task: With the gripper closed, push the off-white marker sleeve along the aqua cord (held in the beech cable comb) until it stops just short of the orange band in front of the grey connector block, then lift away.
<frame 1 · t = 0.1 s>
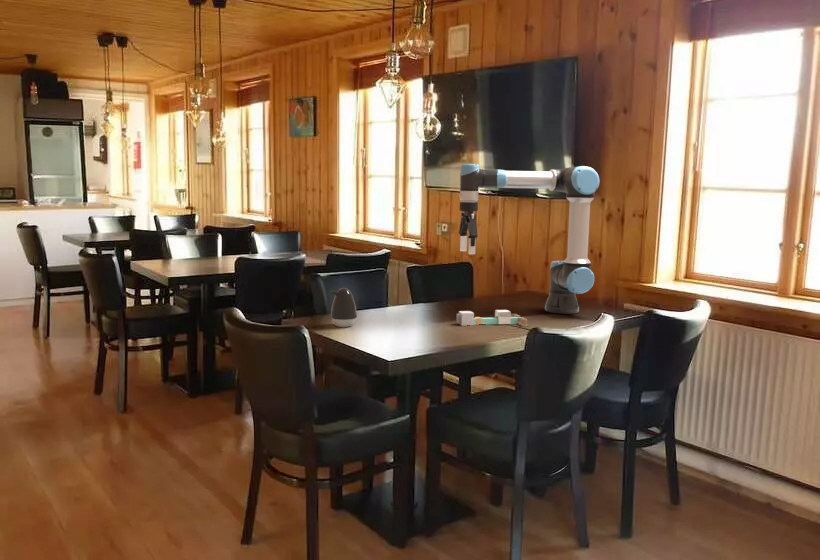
hand: (467, 252, 297), 28 cm above the table, fingers open, 13 cm apart
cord: (493, 323, 290), on the table
comb: (518, 323, 292), on the table
pump dispenser: (343, 326, 280), on the table
sleeve: (502, 316, 290), point 3 cm above the table, slide at 0.0 cm
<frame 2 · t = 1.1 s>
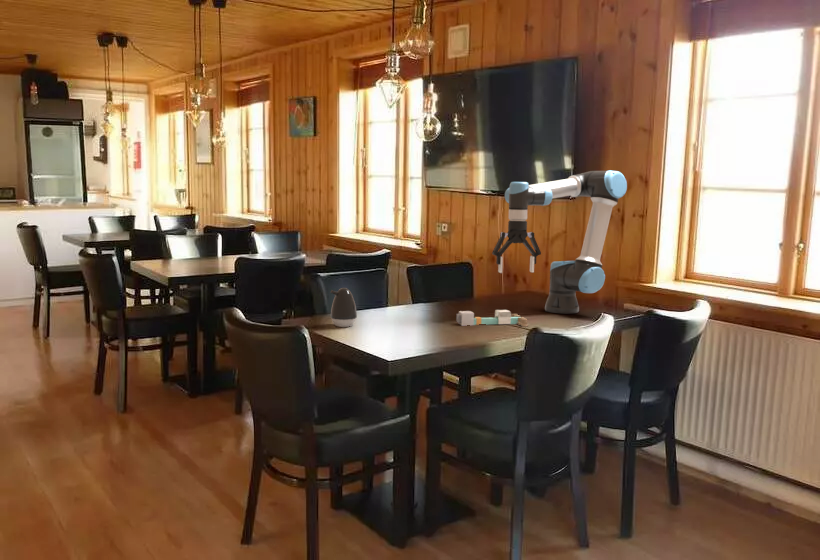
hand: (516, 272, 290), 21 cm above the table, fingers open, 13 cm apart
nothing on the table moved.
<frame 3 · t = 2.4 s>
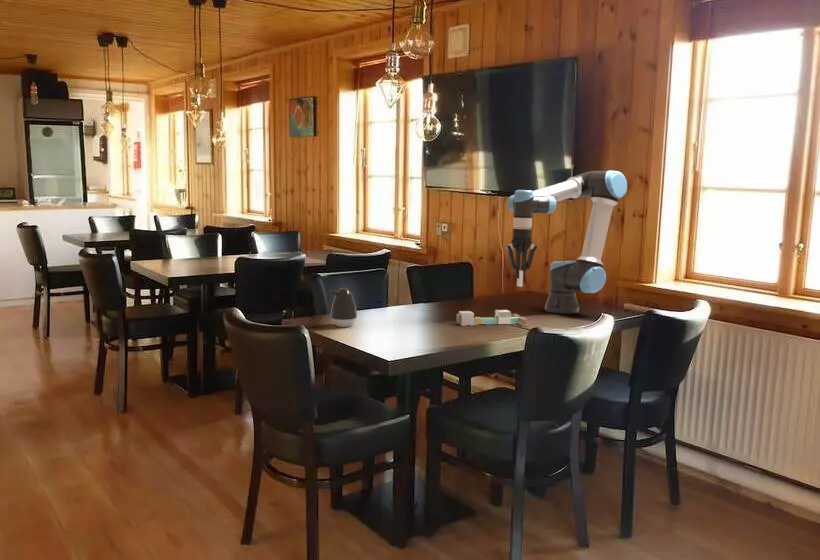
hand: (519, 286, 290), 15 cm above the table, fingers closed
nothing on the table moved.
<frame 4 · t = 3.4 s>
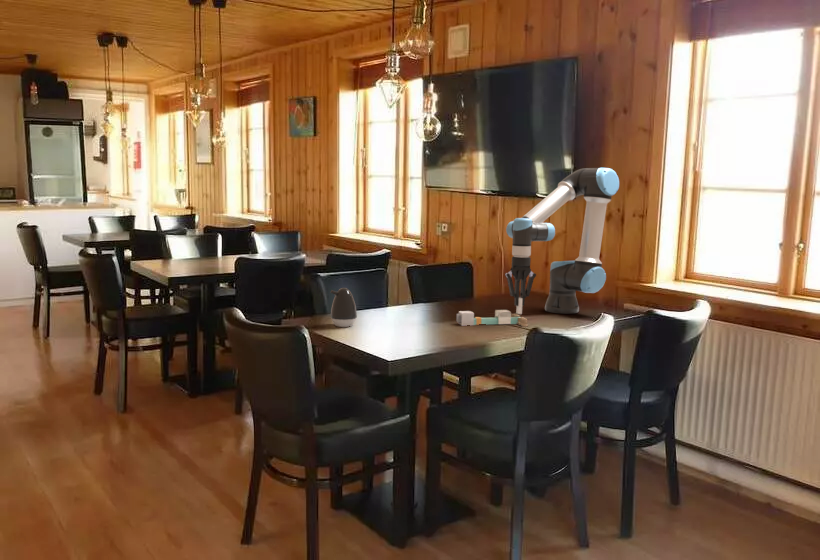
hand: (519, 313, 292), 4 cm above the table, fingers closed
nothing on the table moved.
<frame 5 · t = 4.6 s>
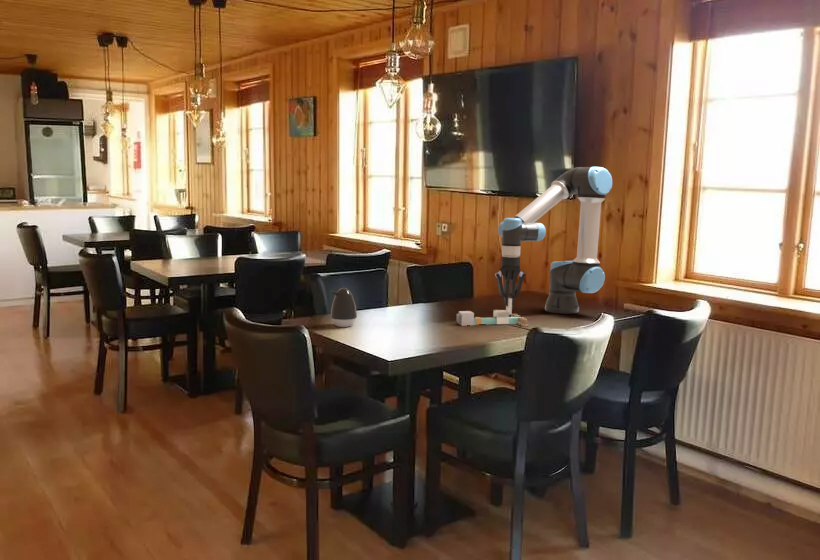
hand: (508, 313, 291), 4 cm above the table, fingers closed
sleeve: (501, 316, 290), point 3 cm above the table, slide at 0.8 cm, touching gripper
everything else where it was.
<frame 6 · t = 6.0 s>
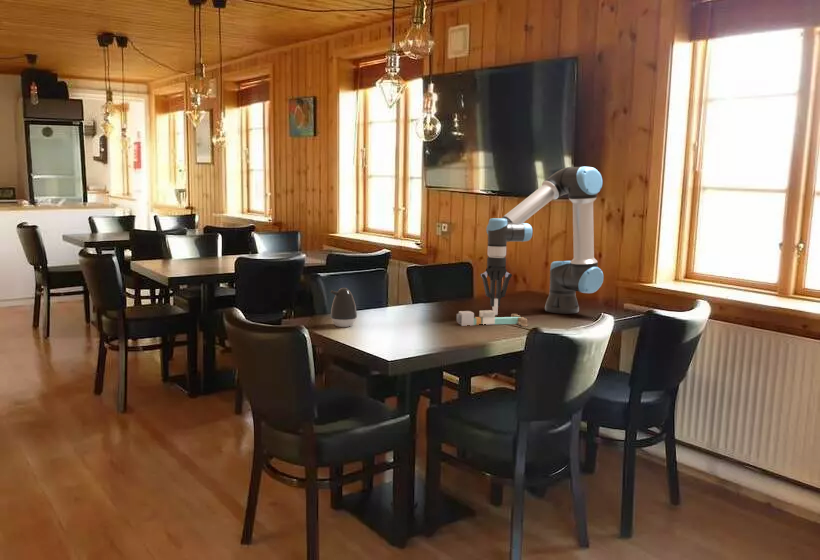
hand: (494, 314, 290), 4 cm above the table, fingers closed
sleeve: (487, 317, 289), point 3 cm above the table, slide at 6.7 cm, touching gripper
everything else where it was.
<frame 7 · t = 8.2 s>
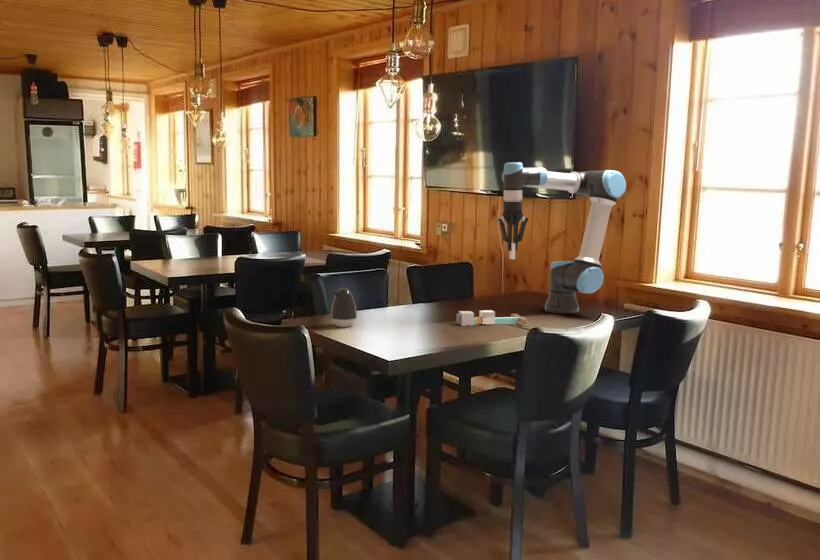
hand: (512, 258, 291), 26 cm above the table, fingers closed
sleeve: (487, 317, 289), point 3 cm above the table, slide at 6.7 cm
everything else where it was.
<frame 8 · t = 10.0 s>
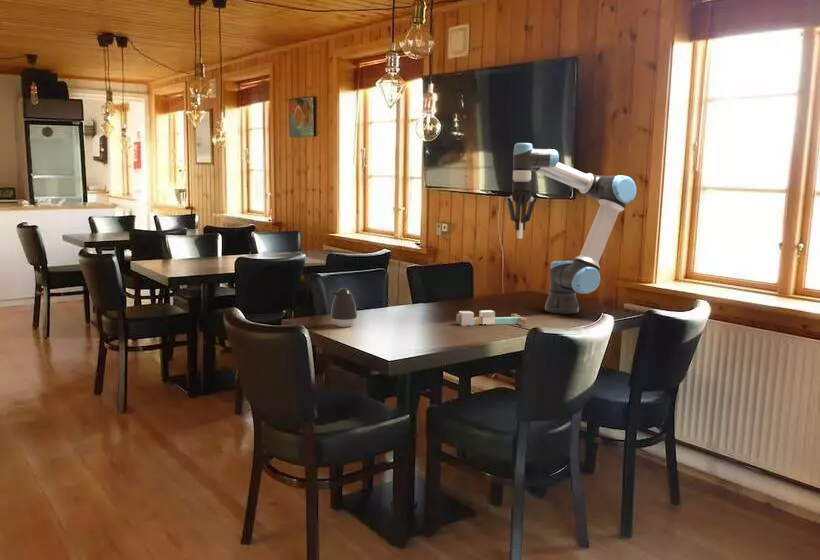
hand: (519, 238, 296), 34 cm above the table, fingers closed
nothing on the table moved.
at the end: sleeve slide at 6.7 cm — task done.
